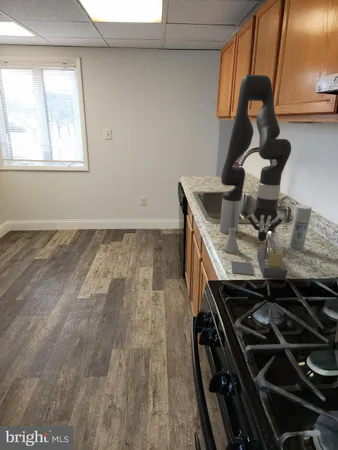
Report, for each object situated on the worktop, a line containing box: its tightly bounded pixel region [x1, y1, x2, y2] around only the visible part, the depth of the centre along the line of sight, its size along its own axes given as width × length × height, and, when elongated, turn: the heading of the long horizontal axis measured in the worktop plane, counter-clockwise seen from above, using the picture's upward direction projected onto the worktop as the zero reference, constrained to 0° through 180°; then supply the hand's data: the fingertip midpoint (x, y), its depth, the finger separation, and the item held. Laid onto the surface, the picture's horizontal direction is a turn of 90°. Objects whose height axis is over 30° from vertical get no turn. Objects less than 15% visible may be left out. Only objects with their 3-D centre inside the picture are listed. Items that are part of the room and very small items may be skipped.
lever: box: [266, 228, 283, 254], centre depth 113 cm, size 16×4×4 cm, turn 171°
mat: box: [230, 260, 255, 276], centre depth 117 cm, size 10×8×1 cm
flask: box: [221, 228, 239, 254], centre depth 131 cm, size 7×7×10 cm
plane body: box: [256, 237, 288, 281], centre depth 116 cm, size 18×8×10 cm, turn 171°
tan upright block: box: [267, 248, 284, 268], centre depth 111 cm, size 5×4×6 cm
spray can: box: [288, 204, 313, 252], centre depth 134 cm, size 6×6×20 cm
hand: (261, 240), depth 114 cm, fingers closed
